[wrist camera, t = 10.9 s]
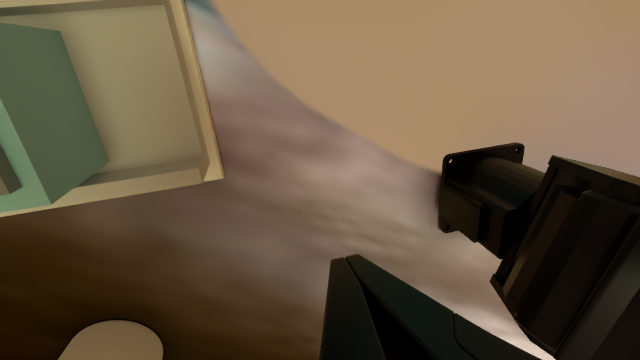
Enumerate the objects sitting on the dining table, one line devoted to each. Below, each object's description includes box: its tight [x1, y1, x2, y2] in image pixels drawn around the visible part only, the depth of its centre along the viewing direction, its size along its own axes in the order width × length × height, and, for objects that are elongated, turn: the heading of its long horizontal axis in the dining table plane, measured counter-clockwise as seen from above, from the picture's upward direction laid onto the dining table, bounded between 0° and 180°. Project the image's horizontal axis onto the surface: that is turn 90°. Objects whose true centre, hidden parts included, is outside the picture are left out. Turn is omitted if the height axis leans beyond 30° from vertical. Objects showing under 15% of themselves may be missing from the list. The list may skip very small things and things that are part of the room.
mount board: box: [0, 0, 224, 217], centre depth 14 cm, size 14×11×4 cm
